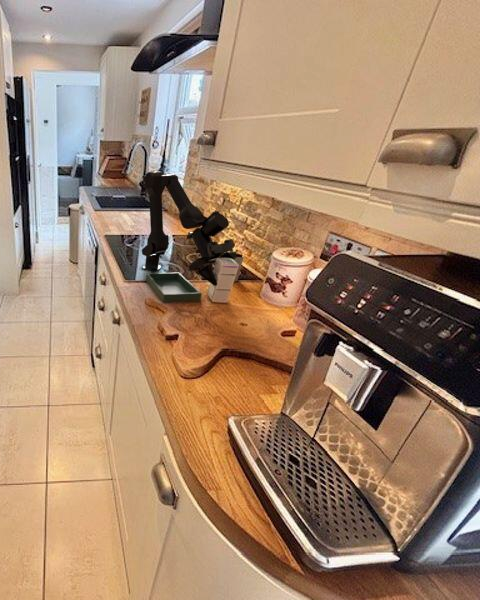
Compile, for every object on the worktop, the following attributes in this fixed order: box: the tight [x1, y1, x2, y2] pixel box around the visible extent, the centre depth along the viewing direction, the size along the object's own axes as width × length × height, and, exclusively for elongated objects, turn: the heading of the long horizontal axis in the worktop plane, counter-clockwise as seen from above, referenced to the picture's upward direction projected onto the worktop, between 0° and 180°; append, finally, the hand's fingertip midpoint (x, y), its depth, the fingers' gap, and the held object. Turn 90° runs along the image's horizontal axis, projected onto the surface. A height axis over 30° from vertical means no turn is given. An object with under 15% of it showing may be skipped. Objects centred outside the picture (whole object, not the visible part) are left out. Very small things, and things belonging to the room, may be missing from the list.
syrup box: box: [206, 258, 239, 304], centre depth 112 cm, size 6×6×14 cm
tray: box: [145, 271, 202, 303], centre depth 121 cm, size 20×14×3 cm
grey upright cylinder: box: [234, 252, 245, 282], centre depth 130 cm, size 4×4×10 cm
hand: (223, 283), depth 111 cm, fingers closed on syrup box, 7 cm apart
